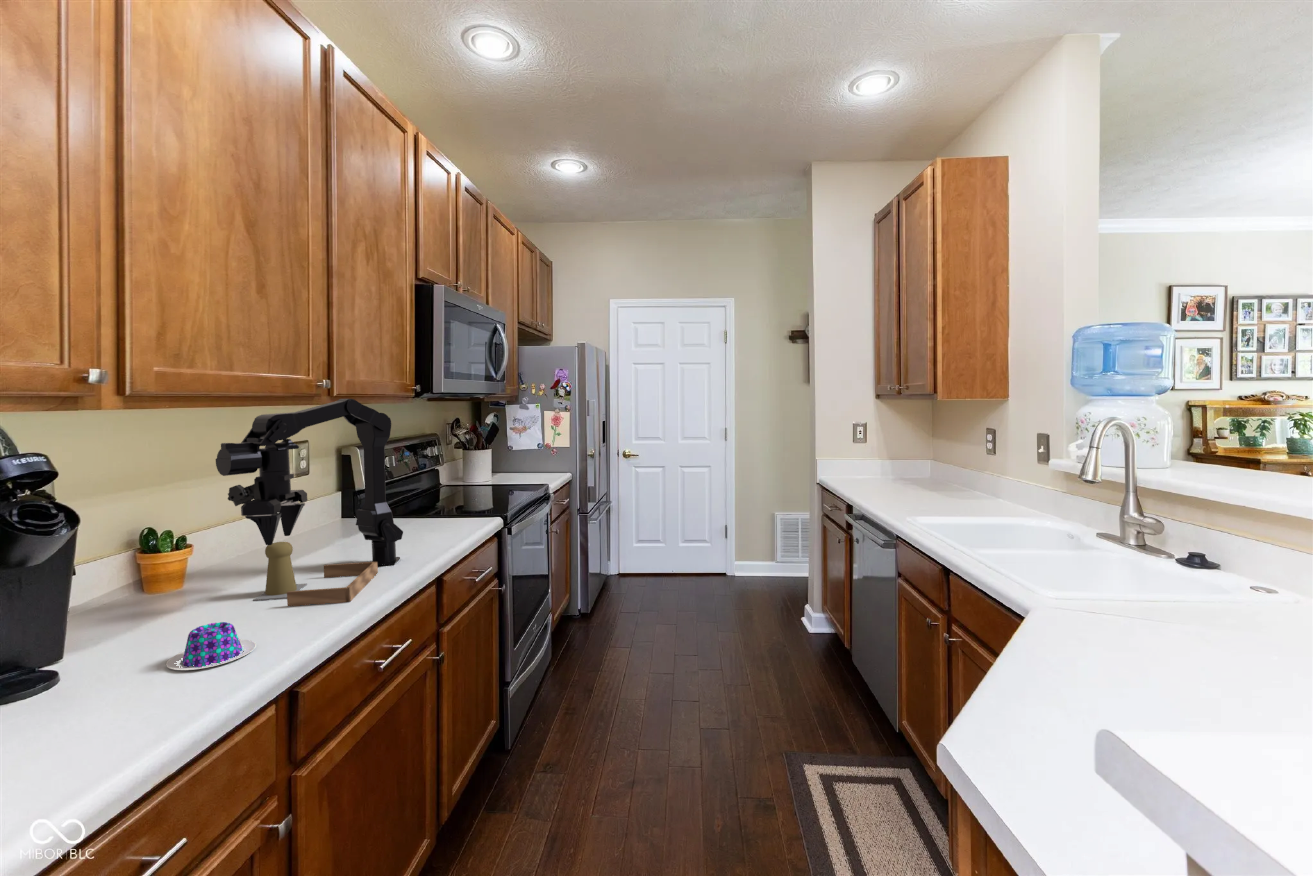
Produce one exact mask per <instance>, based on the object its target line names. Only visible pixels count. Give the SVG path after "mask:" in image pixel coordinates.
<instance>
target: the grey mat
mask: <svg viewBox="0 0 1313 876" xmlns="http://www.w3.org/2000/svg"><path fill="white" fill-rule="evenodd" d="M307 585H308V583H296V586H297V589H296V590H295V591H300V589H301V588H302V589H303V588H304V586H305V587H306V586H307ZM302 589H301V590H302ZM268 599H274V600H287V594H282V595H266V594H265V591H264V592H262V593H260V594H259V595H258V596H256V597H254V598H253V599H252V601H253V602H257V601H258V600H261V601H269V600H268Z"/></svg>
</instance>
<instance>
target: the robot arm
mask: <svg viewBox="0 0 1313 876" xmlns="http://www.w3.org/2000/svg"><path fill="white" fill-rule="evenodd" d="M339 418H344V419H345V420H346V422H347V423H348V424H350V425H352V426H353V427H355V431H356V435H357V438H358V440H359V442H360V443H361V446H362V448H363V475H364V481H363V482H364V503H363V506H362V507H361V509H356V510H355V516H356V522H355V526H357V528H358V531H359V532H360V533H361V534H363V537H364V540H365V541H371V555H372V556H371V557H372V558H371V559H372V560H371V561H370V562H377V564H378V566H391V565H392V566H393V565H396V564H395V563H397V562H399V560H401V557H400V556H397V548H396V542H397V541H400V540H402V539H403V535H404V531H403V530H402V529H401V528H400V527H399V525H396V523H394V516H393V512H392V509H391V507H389V505H388V503H387V499H386V497H387V496H386V495H387V494H386V489H387V488H386V457H385V456H386V455H385V451H386V449H385V448H386V445H387V442H388V441H389V439H390V437H391V431H392V420H391V417H389V416H388V414H386V413H384V412H380V411H377V410H376V409H374V408H371V407H370V406H367V405H364V404H362V403H361V402H359V401H357V400H355V399H354V398H339V399H337V400H336V401H332V402H329V403H324V404H320V405H316V406H313V407H309V408H305V409H301V410H297V411H294V412H293V411H292V412H282V413H281V412H279V413H265V414H261V415H257V416H256V417H255V418H254V420H253V421H252V426H251V428H250V429H249V431H248V433H247V434H246V435H245V437H244V438H243V439H242V441H241V442H221V443H220V449H219V450H218V452H217V454H216V458H215V467H216V469H217V471H218V473H219V474H220V476H223V477H227V476H237V475H246V474H247V475H248V474H255V473H256V472H258V473H259V474H258V475H259V476H256V477H255V478H254V481H253V482H254V483H253V484H251V485H247V486H243V485H241V484H237V485H233V486H231V487H229V488H228V493H227V496H228V497H227V500H228V501H229V502H230V501H231V502H232V503H233V504H234V506H235V507H238V506H240V505H241V507H240V512H241V516H242V517H245V518H246V519H247V520H250V521H252V522H254V523H255V524H256V526H257V528H258V530H259V532H260V535H261V536H262V540H263V542H264V544H265V545H266V546H268V545H272V543H274V540H275V538H276V533H277V530H278V527H279V523H280V521H281V526H282V527H281V528H282V532H283V536H285V537H289V536H292V533H293V529H294V527H295V525H296V523H297V521H298V518H299V517H300V515H301V513H302V511H303V508H304V506H305V505H306V503H305V502H308V493H307V492H306V491H305V490H304V489H292V486H291V485H292V484H291V479H294V478H295V477H294V476H295V475H294V473H291V468H290V465H291V464H290V450H299V448H300V446H299V445H298V444H297V443H295V442H293V440H292V439H291V438H290V437H293V436H296V435H298V434H299V433H300V432H301V431H302V430H304V429H306V428H309V427H312V426H316V425H318V424H322V423H325V422H329V421H332V420H336V419H339ZM279 441H281V442H279ZM260 447H261V448H260ZM258 470H259V471H258Z"/></svg>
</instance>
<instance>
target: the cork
mask: <svg viewBox="0 0 1313 876" xmlns="http://www.w3.org/2000/svg"><path fill="white" fill-rule="evenodd" d="M293 549H294V548H293V544H291V543H290V542H288V541H276V542H273V543H272V545H266V547H265V550H264V554H265V556H266V558H267V559H268V561H267V571H266V572H267V573H266V581H265V591H264V592H265V594H266V595H282V594H287V592H288V591H295V590H296V589H297V586H296V584H297V582H296V579H295V574H294V573H295V572H294V567H293V565H292V559H291V555H292V554H293V551H294V550H293Z"/></svg>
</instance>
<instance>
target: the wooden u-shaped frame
mask: <svg viewBox="0 0 1313 876" xmlns="http://www.w3.org/2000/svg"><path fill="white" fill-rule="evenodd" d="M378 568H379V567H378V564H377V562H371V561H367V562H352V563H351V562H350V563H349V562H348V563H335V564H332V563H331V564H324V565H323V578H324V579H328V578H342V576H345V577H355V579H353V580H352V581H351V582H350V583H349V584H348V585H347V586H345V587H343V586H342V587H333V588H332V587H331V588H329V587H328V588H318V589H317V588H316V589H303V590H302V589H301V590H299V591H288V592H287V599H286V603H287V605H286V606H287V607H288V606H290V607H301V606H300V605H303V606H310V605H309V604H317V605H326V604H325V603H330V604H338V603H339V604H342V603H350V602H351V601H353V600H354V598H356V597H357V595H358V594H359V593H361V591H362V590H363V589H364V588H365V587H366V586H367V585H368V584H369V583H370V582H372V580H373V579H374V578H375V577H376V576H377V575H378V574H379V571H378V570H379V569H378ZM377 573H378V574H377ZM376 574H377V575H376ZM340 576H341V577H340ZM374 576H375V577H374ZM371 579H372V580H371Z"/></svg>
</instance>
